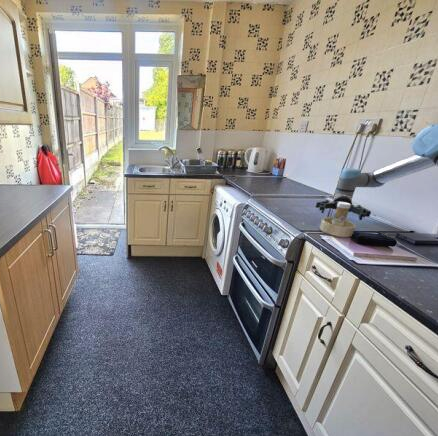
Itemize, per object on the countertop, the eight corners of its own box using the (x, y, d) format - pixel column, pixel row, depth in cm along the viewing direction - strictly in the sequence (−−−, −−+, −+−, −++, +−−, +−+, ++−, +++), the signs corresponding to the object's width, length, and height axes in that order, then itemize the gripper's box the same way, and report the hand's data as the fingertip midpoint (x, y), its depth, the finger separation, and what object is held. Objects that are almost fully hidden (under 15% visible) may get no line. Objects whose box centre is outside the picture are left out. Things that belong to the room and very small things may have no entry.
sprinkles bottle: (334, 233, 110) (344, 204, 105) (327, 229, 114) (335, 201, 109) (344, 232, 110) (353, 204, 105) (336, 228, 115) (345, 201, 110)
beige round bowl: (348, 230, 115) (352, 220, 113) (354, 240, 105) (358, 229, 103) (317, 225, 120) (320, 215, 118) (321, 234, 110) (324, 224, 108)
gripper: (371, 215, 118) (375, 228, 102) (311, 204, 132) (306, 215, 116) (377, 200, 115) (382, 211, 99) (315, 191, 129) (310, 200, 113)
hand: (341, 213), depth 108 cm, fingers open, 13 cm apart
